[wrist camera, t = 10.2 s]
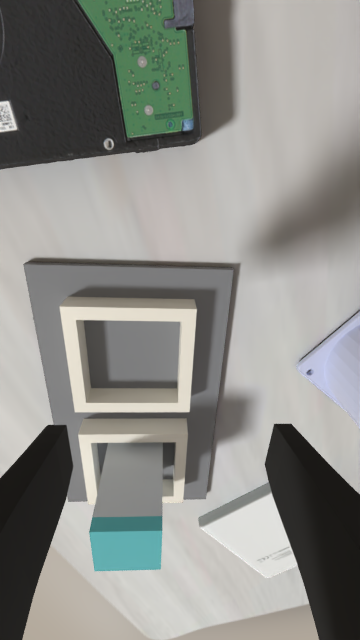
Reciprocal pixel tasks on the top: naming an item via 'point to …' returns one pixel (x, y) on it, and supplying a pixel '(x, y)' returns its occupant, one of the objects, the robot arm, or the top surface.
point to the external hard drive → (252, 531)
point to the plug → (129, 508)
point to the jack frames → (129, 398)
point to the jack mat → (135, 351)
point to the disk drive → (95, 78)
